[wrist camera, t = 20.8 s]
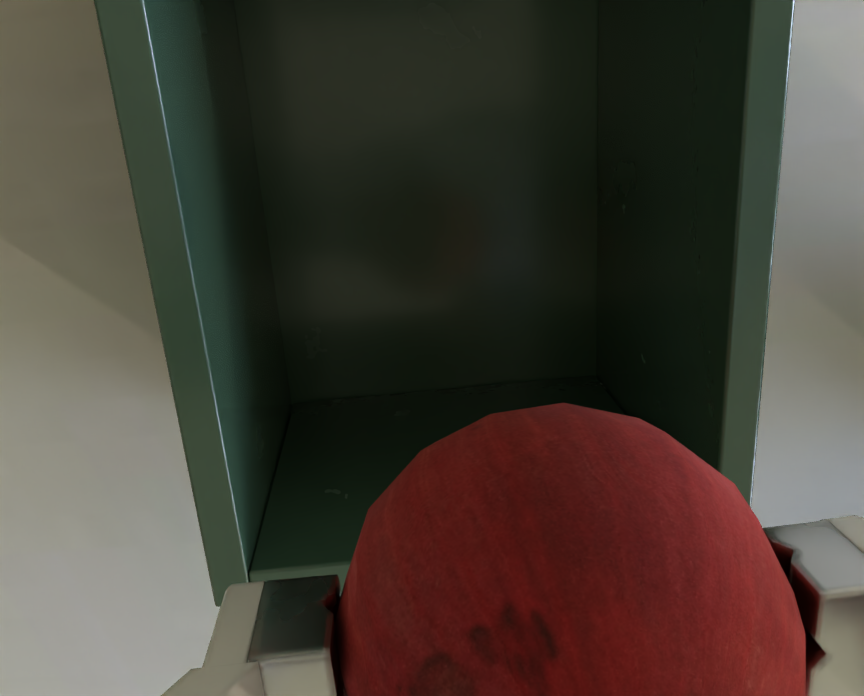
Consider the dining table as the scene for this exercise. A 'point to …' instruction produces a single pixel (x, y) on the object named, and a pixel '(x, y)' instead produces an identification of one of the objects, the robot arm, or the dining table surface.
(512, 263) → the green box
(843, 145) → the dining table surface
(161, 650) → the dining table surface
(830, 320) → the dining table surface
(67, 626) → the dining table surface
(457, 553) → the onion
